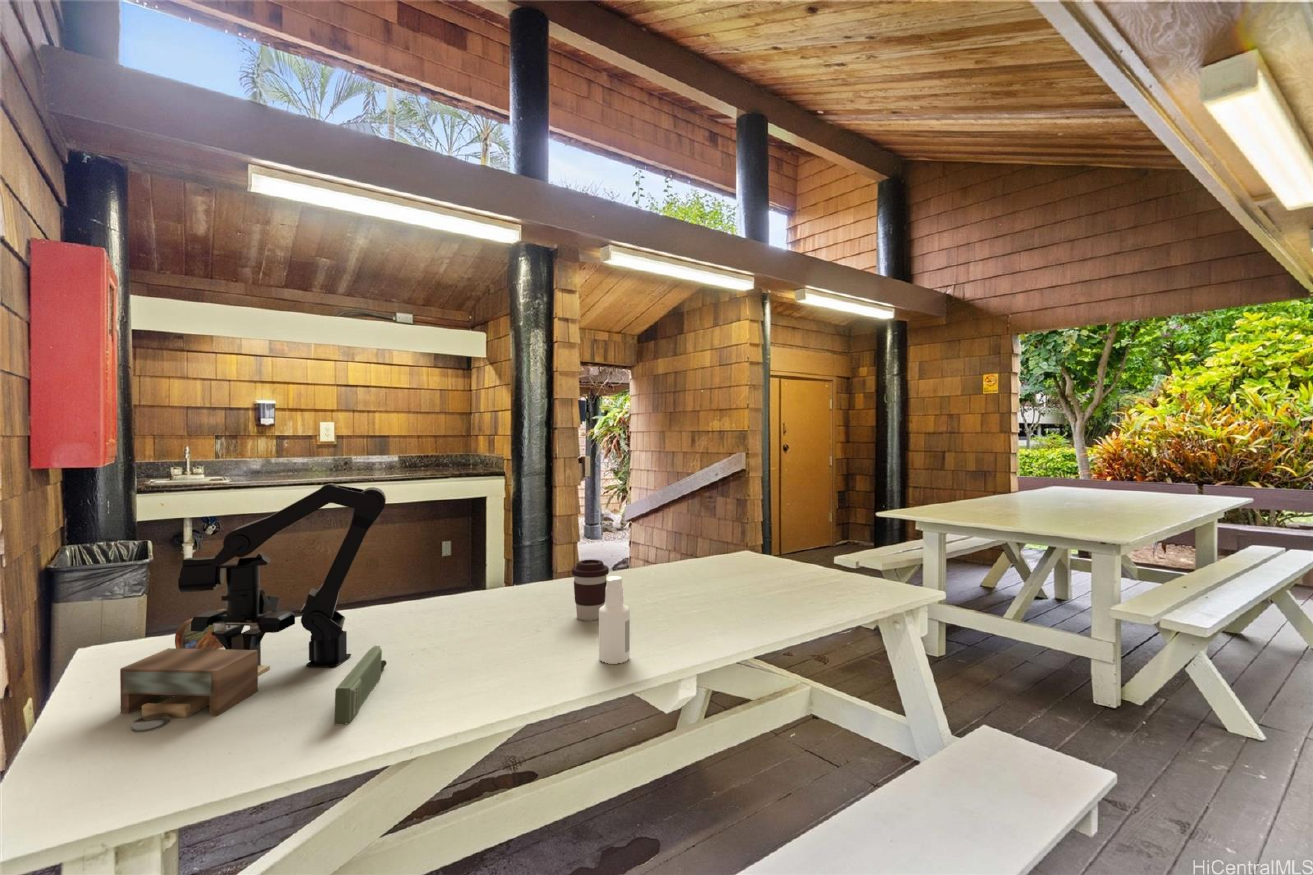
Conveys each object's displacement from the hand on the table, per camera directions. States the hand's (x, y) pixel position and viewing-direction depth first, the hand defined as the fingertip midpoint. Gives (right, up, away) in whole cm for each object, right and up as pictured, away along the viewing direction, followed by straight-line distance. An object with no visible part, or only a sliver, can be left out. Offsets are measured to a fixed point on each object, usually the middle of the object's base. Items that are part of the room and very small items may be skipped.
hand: (243, 662), depth 125 cm
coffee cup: (+68, -2, +38) cm, 78 cm away
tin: (-17, -2, +14) cm, 22 cm away
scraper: (0, -2, -8) cm, 8 cm away
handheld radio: (+30, -3, -9) cm, 31 cm away
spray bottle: (+77, -3, +8) cm, 77 cm away
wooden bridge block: (-1, -3, -13) cm, 13 cm away
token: (-1, -3, -22) cm, 22 cm away
